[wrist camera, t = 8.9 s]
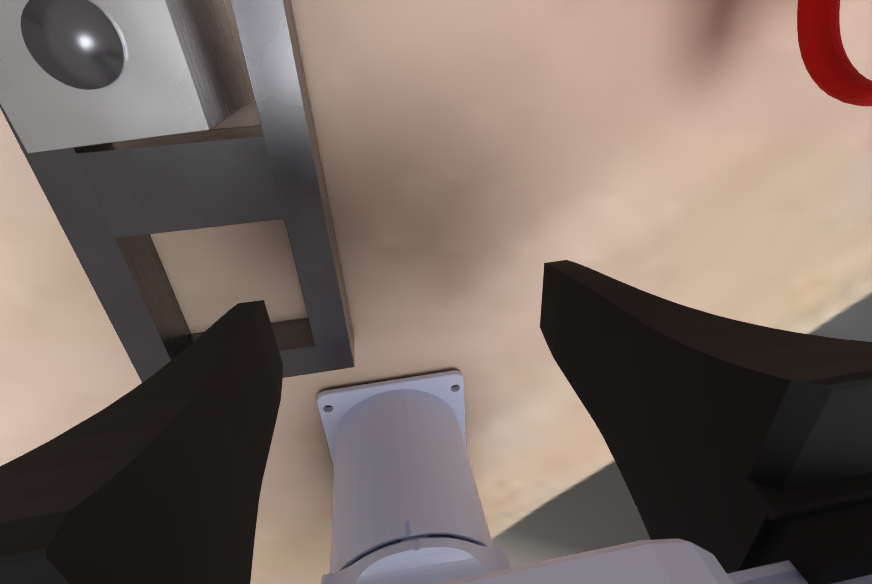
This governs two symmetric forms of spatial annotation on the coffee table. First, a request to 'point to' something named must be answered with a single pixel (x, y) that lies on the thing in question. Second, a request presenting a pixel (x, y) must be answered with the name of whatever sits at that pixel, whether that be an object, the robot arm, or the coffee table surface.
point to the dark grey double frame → (208, 207)
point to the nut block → (116, 69)
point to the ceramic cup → (829, 53)
